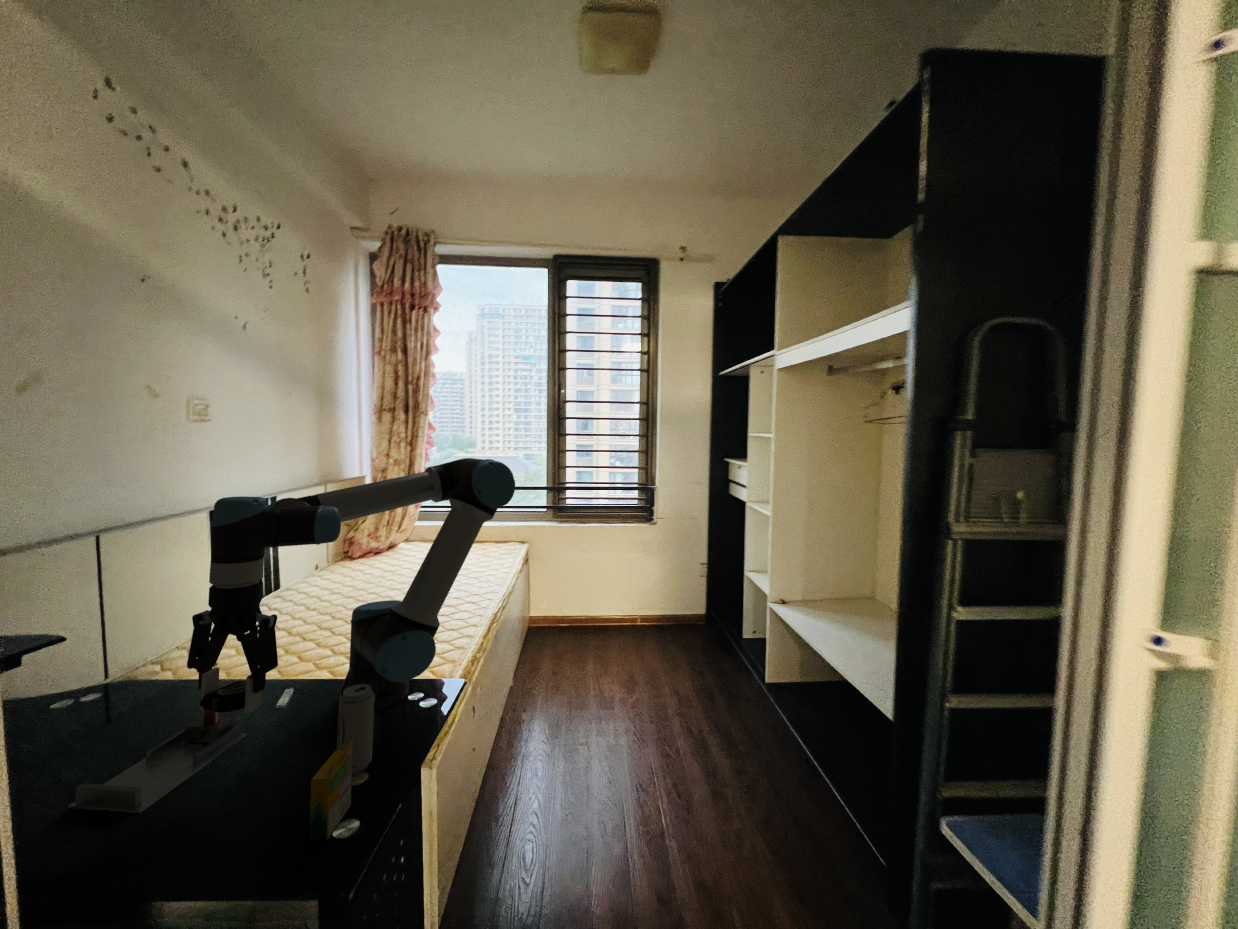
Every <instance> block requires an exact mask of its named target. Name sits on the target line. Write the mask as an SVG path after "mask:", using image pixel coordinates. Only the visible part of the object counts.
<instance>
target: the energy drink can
mask: <svg viewBox="0 0 1238 929" xmlns="http://www.w3.org/2000/svg"><path fill="white" fill-rule="evenodd" d="M371 689H372V687H371V685H369V684H356V685H353V686H350V687H348V688H346V689H345V690H344V691H343V695H342V697H341V699H340V698H339V699H340V700H338V711H337V712H338V714H337V733H336V734H337V736H336V737H337V738H336V750H344V749H345V748H346V747H347V746H348V744H349V743H350V742H351V741H352V740H353V745H352V770H351V776H354V775H358V774H360V773H361V772H363V771H365V770H366V769H367V767H369V764H371V762H372V759H373V747H374V746H373V742H374V725H375V724H374V721H375V720H374V719H375V711H374V702H375V694H374V693H373V691H372V690H371Z"/></svg>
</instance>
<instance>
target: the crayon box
mask: <svg viewBox="0 0 1238 929" xmlns="http://www.w3.org/2000/svg"><path fill="white" fill-rule="evenodd" d="M352 745H353V740H352V741H351V742H350V743H349V744H348V746H347V747H346V748H345V749H344V750H337V749H336V750H335V751H334V752H333V753H331V755H330V757H329V758H328V759H327V760H326V761H325V763H324V764H322V766H321V767H320V769H318V771H317V772H316V773H315V774H314V776H313V777H312V778H311V780H310V800H309V801H310V806H309V808H310V810H309V836H308V838H309V841H328V840H329V839H330V837H331V836H332V834H333V832H334V831H335V829H336V828H337V826H338V825H339V823H340V822H341V820H342V819H343V818H344V816H345V815H346V813H347V811H348V810H349V808H350V807H351V801H352V800H351V799H352V775H351V770H352Z"/></svg>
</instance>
